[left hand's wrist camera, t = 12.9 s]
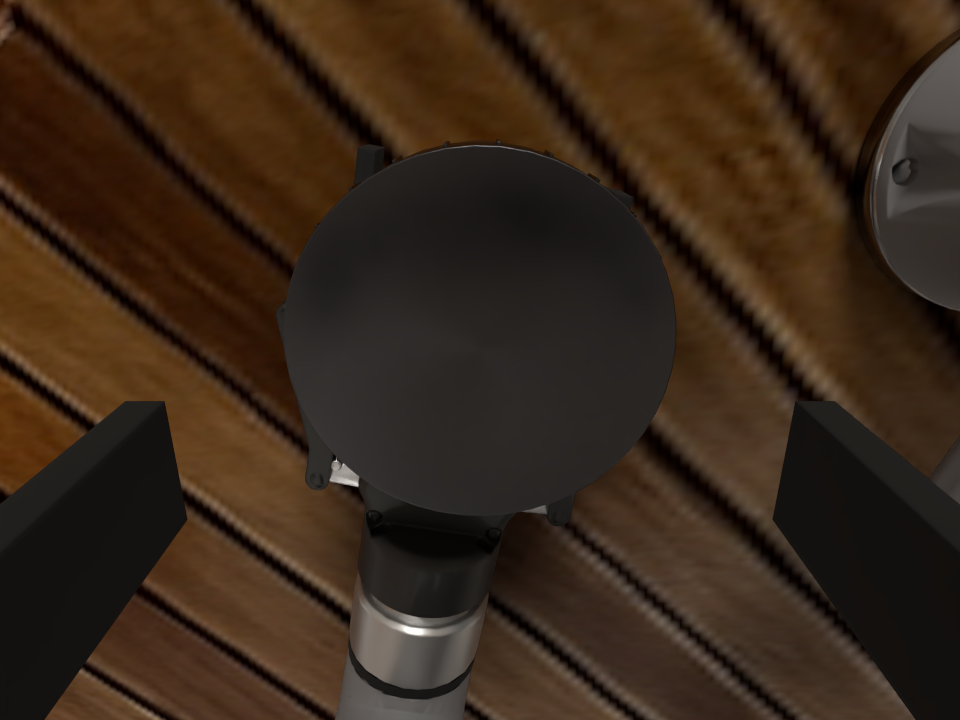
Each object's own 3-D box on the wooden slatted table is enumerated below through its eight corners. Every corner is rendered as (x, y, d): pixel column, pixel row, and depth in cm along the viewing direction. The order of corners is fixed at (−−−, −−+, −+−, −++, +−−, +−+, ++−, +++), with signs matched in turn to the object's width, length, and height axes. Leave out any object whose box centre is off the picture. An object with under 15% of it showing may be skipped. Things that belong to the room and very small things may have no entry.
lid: (255, 173, 19) (229, 181, 17) (647, 106, 19) (667, 106, 17) (346, 503, 23) (334, 539, 21) (670, 458, 23) (688, 490, 21)
